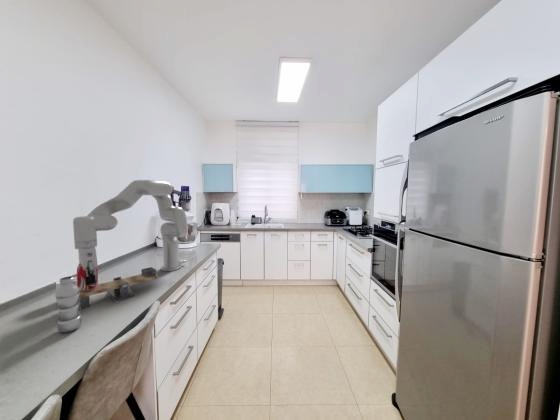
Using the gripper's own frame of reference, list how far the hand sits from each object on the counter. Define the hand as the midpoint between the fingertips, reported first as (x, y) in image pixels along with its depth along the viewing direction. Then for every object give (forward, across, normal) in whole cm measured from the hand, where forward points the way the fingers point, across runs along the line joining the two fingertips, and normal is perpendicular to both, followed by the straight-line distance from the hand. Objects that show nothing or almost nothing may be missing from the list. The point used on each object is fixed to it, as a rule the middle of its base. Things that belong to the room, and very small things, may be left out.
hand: (88, 281), depth 98 cm
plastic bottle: (+11, -18, +9) cm, 23 cm away
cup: (+11, +13, +4) cm, 18 cm away
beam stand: (+11, 0, -6) cm, 13 cm away
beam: (+5, 0, -12) cm, 13 cm away
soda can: (+4, 0, 0) cm, 4 cm away
